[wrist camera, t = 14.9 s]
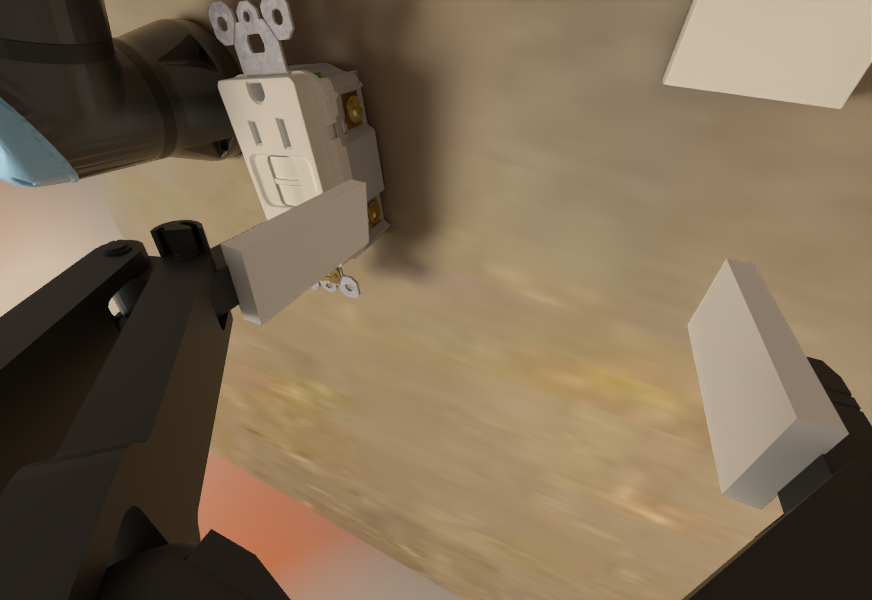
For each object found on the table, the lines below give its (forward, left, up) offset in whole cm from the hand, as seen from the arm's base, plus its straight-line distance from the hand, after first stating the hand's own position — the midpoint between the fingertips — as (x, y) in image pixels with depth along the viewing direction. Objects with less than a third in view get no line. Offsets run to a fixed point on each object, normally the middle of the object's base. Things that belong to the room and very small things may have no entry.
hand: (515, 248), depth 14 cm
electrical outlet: (-25, -7, -25) cm, 36 cm away
